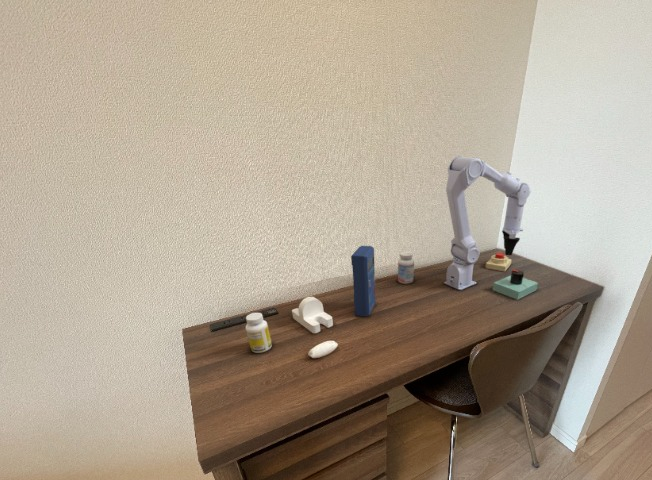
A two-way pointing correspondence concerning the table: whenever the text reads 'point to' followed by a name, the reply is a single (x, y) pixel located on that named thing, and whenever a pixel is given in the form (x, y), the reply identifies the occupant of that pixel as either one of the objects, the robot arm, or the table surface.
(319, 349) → the white spindle
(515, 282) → the dial
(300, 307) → the slotted bracket
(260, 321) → the supplement bottle
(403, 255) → the pill bottle
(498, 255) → the button
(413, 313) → the table surface
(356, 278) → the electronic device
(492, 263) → the control block
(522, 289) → the dial panel
